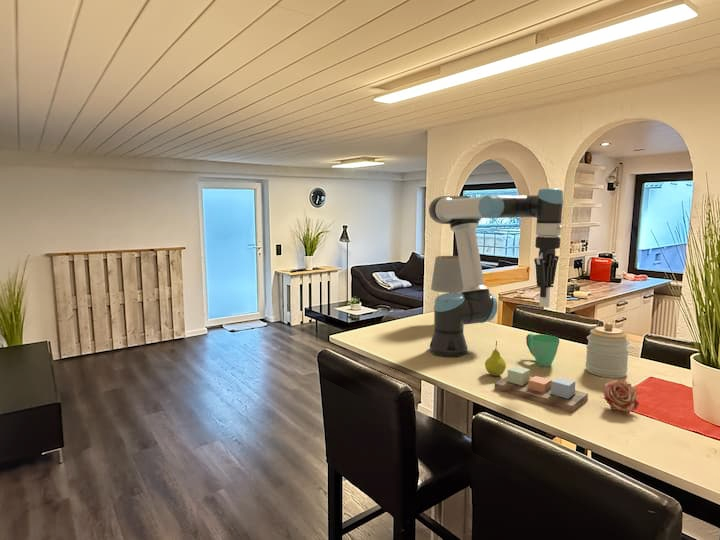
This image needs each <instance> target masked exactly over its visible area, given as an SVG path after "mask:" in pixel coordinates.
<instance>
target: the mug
mask: <svg viewBox="0 0 720 540" xmlns="http://www.w3.org/2000/svg"><path fill="white" fill-rule="evenodd" d="M525 338H526V339H525V340H526V346H527V348H528V349H529V350H528V351H529V352H530V354H531V355H532V357H534V360H535V363H536V364H537V365H538V366H541V367H551V366H552V364H553V362H554V360H555V357H556V355H557V352H558V349H559V345H560V338H559V337H558V336H554V335H550V334H541V333H540V334H534V333H528V334H527V335H526V337H525Z"/></svg>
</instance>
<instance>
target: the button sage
mask: <svg viewBox="0 0 720 540" xmlns="http://www.w3.org/2000/svg"><path fill="white" fill-rule="evenodd" d="M530 374H531V369H529V368H525V367H523V366H517V365H514V366H512V367H510V368H508V369H507V376H506V377H507V382H510V383H514V385H517V386H521V387H523V385H524V384H526V383H528V382H529V380H530V378H531V377H530V376H531V375H530Z"/></svg>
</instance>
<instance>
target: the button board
mask: <svg viewBox="0 0 720 540" xmlns="http://www.w3.org/2000/svg"><path fill="white" fill-rule="evenodd" d="M531 378H532V377H530V379H531ZM528 383H529V382H528ZM528 383H526V384H524V385H523V386H521V385H517V384H514V383H510V382H507V376H505V377H503V378H502V379H500V380H497V381H496V382H494V390H497V391H500V392H503V393H506V394H510V395H513V396H516V397H518V398H519V397H520V398H523V399H525V400H529V401H532V402H535V401H536V403H539V404H542V405H544V406H545V405H546V406H548V407H552V408H555V409H559V410H563V411H565V412H568V413H574V412H575V411H576V410H577V409H578V408H580V407H581V406H583V404H584V403H586V402H587V401H588V400H589V399H588V396H589V393H586V392H584V391H580V390H576V389H575V394H574V395H573V396H571V397H570V398H569V399H566V398H563V397H559V396H556V395H552V394H551V390H549V391H548V392H546V393H542V392H538V391H535V390H531V389H528Z"/></svg>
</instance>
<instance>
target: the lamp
mask: <svg viewBox="0 0 720 540" xmlns="http://www.w3.org/2000/svg"><path fill="white" fill-rule="evenodd" d="M430 289H431V291H434V292H437V293H445V294H446V293H460V292H461V291H462V290H463V282H462V275H461V269H460V262H459V256H458V255H439V256H438V255H437V256H435V260H434V266H433V273H432V279H431V287H430Z"/></svg>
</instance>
